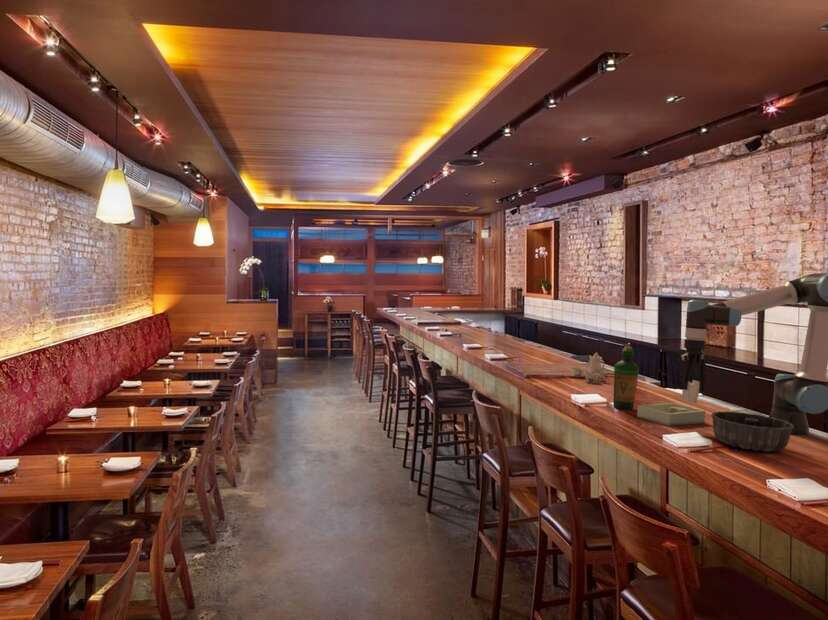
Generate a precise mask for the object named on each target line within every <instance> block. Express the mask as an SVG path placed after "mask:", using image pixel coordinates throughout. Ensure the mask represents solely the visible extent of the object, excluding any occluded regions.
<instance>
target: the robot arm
mask: <svg viewBox="0 0 828 620" xmlns="http://www.w3.org/2000/svg"><path fill="white" fill-rule="evenodd" d="M709 303H710V302H709V301H708V300H701V299H699V300H698V299H689V301H688V302H687V305H686V306H687V307H686V318H685V321H686V322H685V330H684V333H685V334H684V343H683V344H684V345H683V347H684V349H685V353H684V354H680V356H679V358H680V362H679V364H680V366H679V374H678V376H679V377H678V379H679V380H680V381H682V392H681V393H682V394H681V398H683V397H684V398H689V395H690V383H694V384H698V392H697V399H698V398H699V393H700V388H701V387H700V386H701V382H703V381H704V379H705V373H706V361H707V357H708V355H707V354H704V353H703V351H704V350H705V349H706V339H707V327H708V326H719V327H720V326H721V327H723V326H724V327H738V326H739V325H740V323H741V321H742V316H745V315H750V314H753V313H754V314H755V313H756V312H757V313H758V312H762V311H765V310H768V309H772V308H776V307H780V306H784V305H787V304H790V305H793V306H794V305H796V304H803V303H807V304H806V306H807V308H808V309H809V311H810V312H809V318H808V324H807V329H806V335H805V339H804V340H805V341H804V346H803V350H802V351H803V352H802V357H801V360H800V361H801V362H800V368H799V371H798V372H796V373H794V374H787V373H777V374H776V375H775V378H774V381H773V382H774V383H773V384H774V386H773V398H772V399H773V400H772V408H771V411H770V413H769V415H768V417H772V418H775V419H779V420H784V421H787V422H788V423H791V424H793V426H794V428H793V429H792V431H791V434H792V435H808V434H810V433H809V432H810V426H809V423H808V419H807V415H806V414H812V415H817V414H822V413H824V412H825V411H827V410H828V377H827V370H828V272H821V273H819V272H818V273H817V272H815V273H810V274H806V275H804V276H801V277H797V278H794V279H792V280H789V281H785V282H784V284H783V285H780V286H777V287H772V288H768V289H765V290H762V291H761V290H760V291H759V292H758V291H757V292H754V293H750V294H747V295H743V296H740V297H736V298H732V299H728V300H725V301H722V302H718V303H713V304H709ZM692 370H693V371H692ZM692 372H693V380H692V382H691V381H690V379H691V374H692Z"/></svg>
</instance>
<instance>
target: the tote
mask: <svg viewBox="0 0 828 620" xmlns="http://www.w3.org/2000/svg"><path fill="white" fill-rule="evenodd" d="M669 407H681V408H685V409H688V410H687V412H680V413H669ZM636 415H637V416H636V417H637V418H640V419H643V420H646V421H648V422H649V421H650V422H653V423H655V424H659V425H663V426H666V427H675V426H685V425H686V426H687V425H697V424H705V422H706V421H705V420H706V410H703V409H699V408H695V407H690V406H687V405H683V404H679V403H675V402H669V403H667V402H666V403H665V402H664V403H654V404H641V405H640V404H639V405H637V414H636Z"/></svg>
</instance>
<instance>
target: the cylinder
mask: <svg viewBox="0 0 828 620" xmlns="http://www.w3.org/2000/svg"><path fill="white" fill-rule="evenodd" d="M697 392H698V384H694V383H692V382H691V383H690V395H689V398H684V397H682V401H683V402H685V403H689V404H690V403H691V404H697V403H698V402H697V401H698V398H697Z"/></svg>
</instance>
